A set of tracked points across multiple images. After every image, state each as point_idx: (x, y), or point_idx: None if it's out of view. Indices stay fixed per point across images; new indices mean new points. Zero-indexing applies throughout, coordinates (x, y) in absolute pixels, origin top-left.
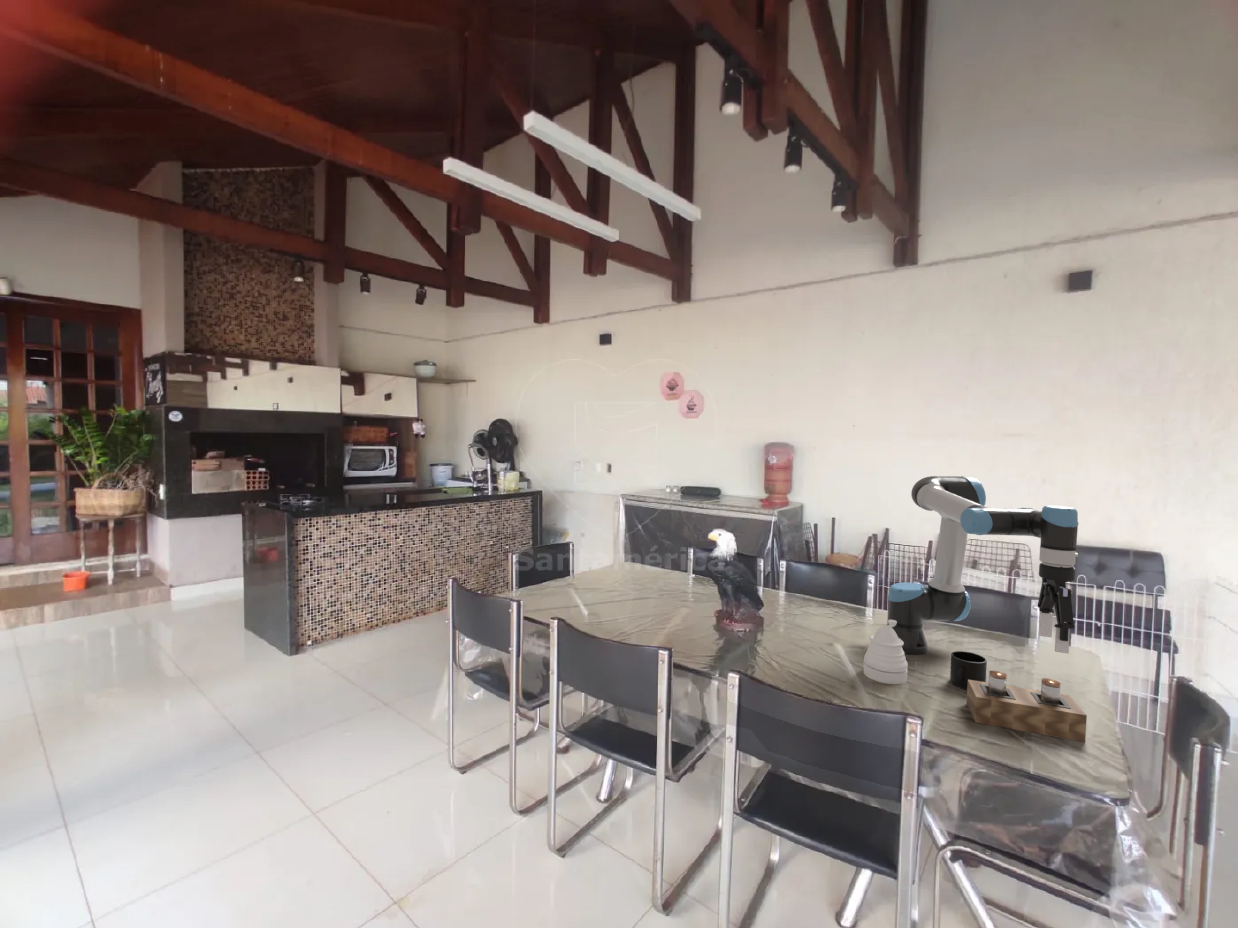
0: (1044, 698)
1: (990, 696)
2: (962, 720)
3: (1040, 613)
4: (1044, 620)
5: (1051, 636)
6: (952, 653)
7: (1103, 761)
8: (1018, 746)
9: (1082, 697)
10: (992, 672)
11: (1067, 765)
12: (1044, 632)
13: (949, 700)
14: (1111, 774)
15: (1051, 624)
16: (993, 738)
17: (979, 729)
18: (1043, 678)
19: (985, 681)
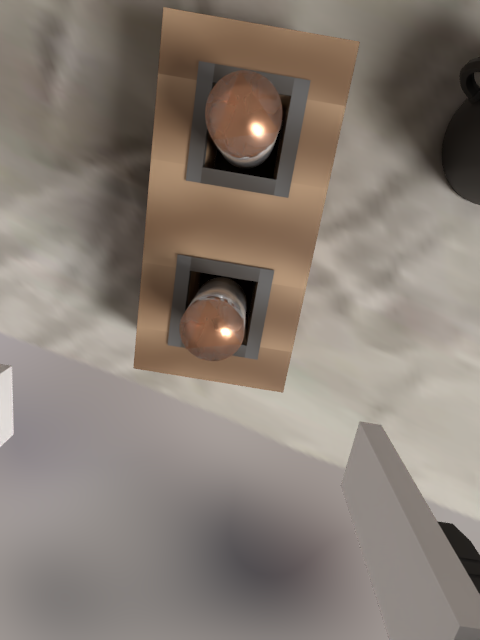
0: (205, 287)
1: (187, 81)
2: (182, 4)
3: (473, 613)
4: (403, 559)
5: (343, 488)
6: None
7: (63, 329)
8: (59, 136)
9: (437, 465)
10: (251, 88)
11: (2, 229)
12: (362, 468)
13: (343, 11)
14: (3, 314)
15: (373, 575)
16: (83, 73)
17: (131, 46)
18: (240, 315)
19: (478, 197)
